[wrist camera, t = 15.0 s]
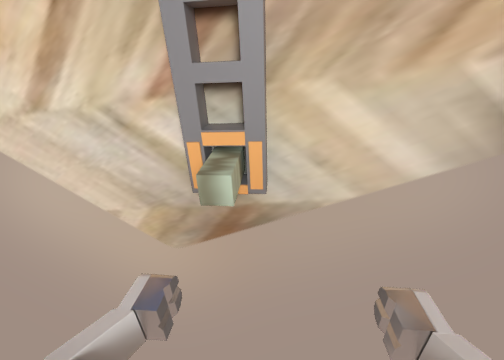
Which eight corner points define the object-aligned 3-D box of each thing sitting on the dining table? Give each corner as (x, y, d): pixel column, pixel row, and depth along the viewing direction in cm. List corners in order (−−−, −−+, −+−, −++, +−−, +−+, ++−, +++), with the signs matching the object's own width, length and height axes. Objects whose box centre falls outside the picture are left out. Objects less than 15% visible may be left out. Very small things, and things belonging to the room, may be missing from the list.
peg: (243, 143, 40) (231, 175, 29) (245, 168, 42) (233, 206, 31) (217, 144, 40) (195, 175, 30) (220, 168, 42) (200, 205, 32)
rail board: (264, -14, 30) (262, -25, 26) (267, 182, 43) (266, 194, 39) (169, -7, 31) (154, -16, 27) (199, 181, 44) (192, 193, 40)
